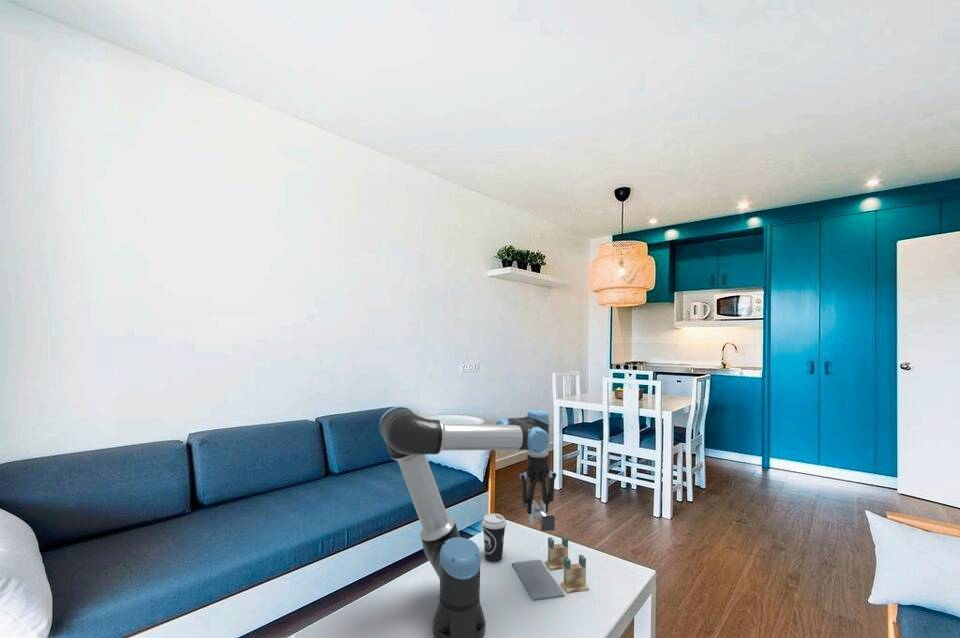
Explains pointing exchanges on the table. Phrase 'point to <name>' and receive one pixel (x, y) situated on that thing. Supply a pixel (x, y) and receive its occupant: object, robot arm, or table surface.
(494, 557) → the coffee cup
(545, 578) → the pad
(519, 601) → the table surface
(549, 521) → the rail
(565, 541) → the post far
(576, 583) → the post near
